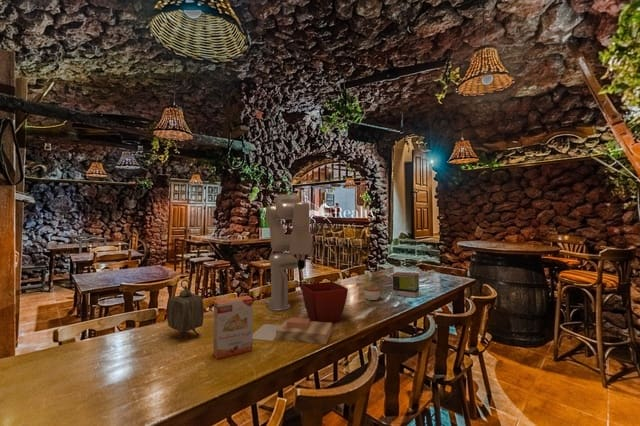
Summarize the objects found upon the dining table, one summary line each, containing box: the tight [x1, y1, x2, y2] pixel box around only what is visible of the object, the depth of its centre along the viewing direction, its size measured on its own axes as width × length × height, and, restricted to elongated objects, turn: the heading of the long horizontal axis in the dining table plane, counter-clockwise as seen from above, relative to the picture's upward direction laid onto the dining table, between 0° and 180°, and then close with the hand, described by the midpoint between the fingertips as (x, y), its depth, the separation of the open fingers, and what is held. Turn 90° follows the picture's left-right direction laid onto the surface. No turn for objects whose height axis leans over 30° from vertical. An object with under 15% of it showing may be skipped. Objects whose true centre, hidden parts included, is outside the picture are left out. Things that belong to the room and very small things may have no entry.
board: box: [275, 318, 333, 345], centre depth 133 cm, size 22×14×4 cm, turn 78°
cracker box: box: [212, 295, 254, 360], centre depth 117 cm, size 14×6×21 cm, turn 122°
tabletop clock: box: [166, 279, 205, 339], centre depth 133 cm, size 14×9×25 cm, turn 56°
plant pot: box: [300, 281, 349, 323], centre depth 155 cm, size 19×19×17 cm
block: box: [287, 317, 311, 329], centre depth 134 cm, size 9×6×2 cm, turn 78°
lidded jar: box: [363, 284, 381, 301], centre depth 190 cm, size 11×11×9 cm
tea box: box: [392, 271, 420, 299], centre depth 201 cm, size 15×10×15 cm, turn 58°
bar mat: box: [253, 323, 282, 342], centre depth 137 cm, size 11×18×1 cm, turn 168°
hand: (301, 268), depth 138 cm, fingers closed
